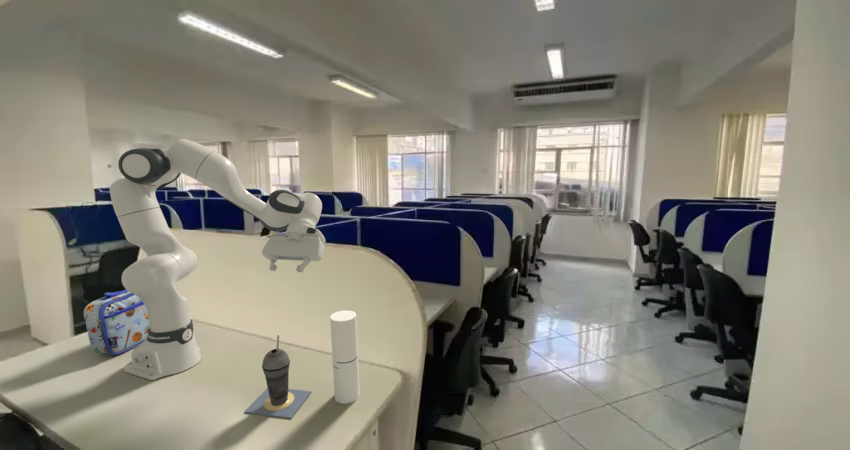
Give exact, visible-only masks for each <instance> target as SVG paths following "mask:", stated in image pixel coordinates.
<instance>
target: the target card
mask: <svg viewBox="0 0 850 450" xmlns="http://www.w3.org/2000/svg"><path fill="white" fill-rule="evenodd" d="M312 393H313V392H312V390H303V389H293V388H288V400H287V402H286V403H284V404H283V405H280V406H273V405H271V401H270V398H269V392H268V387H266V388H265V390H263V392H262V393H261V394H260V395H259V396H258V397H256V399H255V400H254V401H253V402H252V403H251V404H250V405H249V406H248V407H247V408H246V409H245V410H244V414H252V415H259V416H265V417H275V418H280V419H281V418H283V419H289V420H290V419H291V420H293V418H294V416H296V415H297V413H298V411H299V410H300V409H301V407H302V406H303V405H304V404H305V403H306V401H307V400H308V399H309V398H310V396H311V394H312Z"/></svg>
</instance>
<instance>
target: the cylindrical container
mask: <svg viewBox="0 0 850 450" xmlns="http://www.w3.org/2000/svg"><path fill="white" fill-rule="evenodd" d="M357 320H358V319H357V313H356V312H355V311H353V310H350V309H349V310H345V309H344V310H338V311H335V312H333V313H332V314H331V315H330V333H331V334H330V337H331V351H332V352H331V354H332V371H333V388H334V390H333V391H334V392H333V393H334V400H335V402H337V403H338V404H342V405H346V404H348V405H349V404H352V403H354V402H355V401H357V400H358V399H359V397H360V396H361V393H360V392H361V391H360V377H359V376H360V373H359V372H360V371H359V370H360V368H359V348H358V347H359V343H358V325H357V324H358V322H357Z"/></svg>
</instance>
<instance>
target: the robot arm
mask: <svg viewBox="0 0 850 450" xmlns="http://www.w3.org/2000/svg"><path fill="white" fill-rule="evenodd" d="M117 164H118V169H119V172H120V174H121V175H122V176H123V177H122V178H119V179H117V180H115V181H114V182H113V183H111V185H110V186H109V195H110V199H111V204H112V207H113V211H114V214H115V215H116V217H117V219H118V222H119V225H120V227H121V230H122V232H123V234H124V236H125V238H126V239H125V240H127V241H128V242H129V243H130V244H133V245H134V246H137V247H139V248H140V249H141V250H142V251H143V252H144V253H145V254H146V255H147V256H146V257H144V258H140V259H138V260H136V261H135V262H132V264H130V265H129V266H128V267H126V268H125V269H124V270H123V272H122V274H121V284H122V286H123V287H124V290H127V291H129V292H130V293H132V294H135V295H137V296H139V297H140V298H141V300H142V301H143V303H144V305H145V307H146V309H147V314H148V319H149V325H150V328H149V329H147V330H145V331H147V332H145V331H143V332H145V333H144V334H146V333H148V336H147V339H146V340H145V341H144V342H142V343H141V344H140V345H138V346H136V347H134V348H133V350H132V352H131V360H130V361H129V362H128V363H127V364H126V365H125V366H124V367H123V372H125V373H127V374H131V375H134V376H136V377H140V378H143V379H146V380H149V381H155V380H157V379H160V378H163V377H167V376H170V375H176V374H179V373H181V372H184V371H186V370H188V369H191V368H192V367H194V366H196V365H197V364H198V363H199V362H201V359H202V354H201V349H200V348H201V347H199V345H198V343H197V340H196V339H197V338H196V336H195V332H194V323H193V320H192V319H191V314H190V303H189V299H188V298H187V297H186V296H183V295H182V294H180V293H179V291H178V289H177V282H179V281H181V280H183V279H185V278H187V277H188V276H189V275H190V274H191V273H192V272H193V271H194V270H196V268H197V266H198V257H197V255H196V253H195V252H194V251H193V250H192V249H190V248H189V247H186V246H185V245H184V244H182V243H181V242H180V241H179V240H178V239H177V238H176V236H175V235H174V234H173V232H172V230H171V228H170V227H169V225H168V223H167V220H166V218H165V216H164V213H163V211H162V209H161V207H160V204H159V201H158V198H157V196H156V191H157V190H162V189H163V188H164V187H166V186H168V185H170V184H172V183H175V181H177V180H178V178H180V176H181V174H182V175H184V176H188V177H190V178H191V179H193V180H195V181H197V182H199V183H201V184H203V185H205V186H206V187H208V188H209V189H211V190H213V191H215V193H217V194H218V195H220V196H221V197H222V198H223V199H225V200H227V201H228V202H229V203H231V204H233V205H234V206H236V207H238V208H239V209H241V211H244V212H246V213H247V214H249V215H251V216H253V217H254V218H255V219H257V220H258V221H259V222H260V224H262V226H263V227H265V228H266V229H267V230H269V231H270V232H271V231H272V232H276V233H275V234H272V235H271V236H270V237H269V238H268V240H267V241H266V243H265V244H264V246H263V248H262V250H261V254H262V256H263V257H264V258H265V259H267V260H269V262H270V263H269V264H270V265H269V268H268V269H269V270H270V271H271V272H276V271H277V268H278V265H276V263H277V261H282V260H283V261H299V262H300V261H301V263H300V264H298V265H297V267H296V272H298V273H304V270H305V268H306V267H308V266H309V264H310V262H320V261H321V260H322V259H323V257H324V252H325V249H326V248H325V247H326V246H325V243H326V238H325V236H324V234H323V233H322V232H321V231H320V230H319V229H318V228H316V226H317V225H318V223H319V220H320V218H321V214H322V210H323V203H322V200H321V199H320V197H318V195H316V194H314V193H312V192H303V193H299V192H298V193H297V192H291V191H290V190H286V189H276V190H274V191H272V192H271V193H270V194H269V196H268V199H267V201H266V202H265V201H263V200H262V199H260V198H258V197H257V196H255V195H254V194H252V193H251V192H249V191H248V190H247V189H246V188H245V187H244V186H243V183H242V181H241V179H240V177H239V174H238V170H237V168H236V166H235V165H234V163H233V162H232V161H231V160H230V159H228V157H226V156H225V155H223V154H221V153H218V152H217V151H215V150H213V149H211V148H209V147H208V146H205V145H203V144H200V143H198V142H196V141H192V140H191V139H190V140H189V139H188V138H187V139H186V138H180V139H177V140H175V141H173V143H171V144H170V146H168V148H167V149H166V150H162V149H160V148H145V147H139V148H132V149H130V150H127V151H125V152H123V154H122V155H120V157H119V159H118V163H117ZM284 231H285V233H281V232H284ZM277 232H280V233H277Z"/></svg>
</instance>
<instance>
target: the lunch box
mask: <svg viewBox="0 0 850 450" xmlns="http://www.w3.org/2000/svg"><path fill="white" fill-rule="evenodd" d="M103 295H104V296H103V297H100V298H98V299H96V300H93V301H91V302H89V303H88V304H86V306H85V307H84V309H83V318H84V322H85V325H86V331H87V335H88V336H87V337H88V340H89V344H90V348H91V350H92V352H94V353H97V354H109V355H111V356H118V355H122V354H124V353H127V352H128V351H130V350H132V349H135V348H136V347H138V346H139V345H140V344H141V343H142V342H144V341H145V340H146V339H147V336H148V333H146V334H144V333H145V332H147V331H145V330H147V329H149V328H150V325H149V319H148V314H147V309H146V307H145V305H144V303H143V301H142V300H141V298H140V297H139V296H137V295H135V294H132V293H130V292H129V291H127V290H126V289H124V290H120V291H115V292H105V293H104V294H103ZM143 331H145V332H143Z"/></svg>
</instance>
